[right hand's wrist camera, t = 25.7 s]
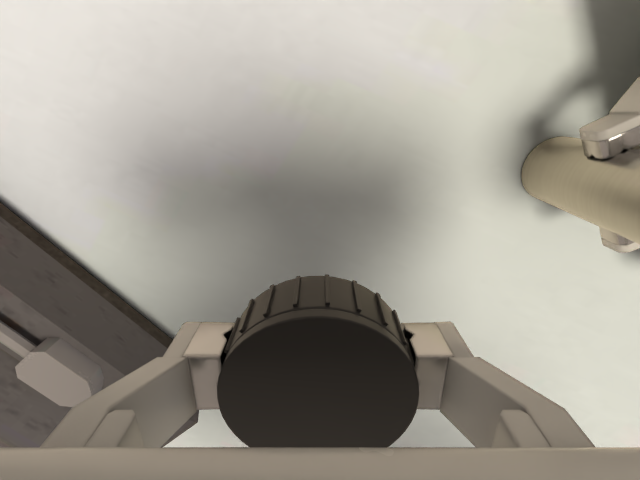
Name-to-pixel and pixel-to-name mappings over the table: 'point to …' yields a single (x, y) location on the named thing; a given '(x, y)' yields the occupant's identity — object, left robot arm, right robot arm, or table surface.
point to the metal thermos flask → (587, 184)
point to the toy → (60, 336)
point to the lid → (318, 368)
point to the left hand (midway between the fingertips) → (599, 194)
